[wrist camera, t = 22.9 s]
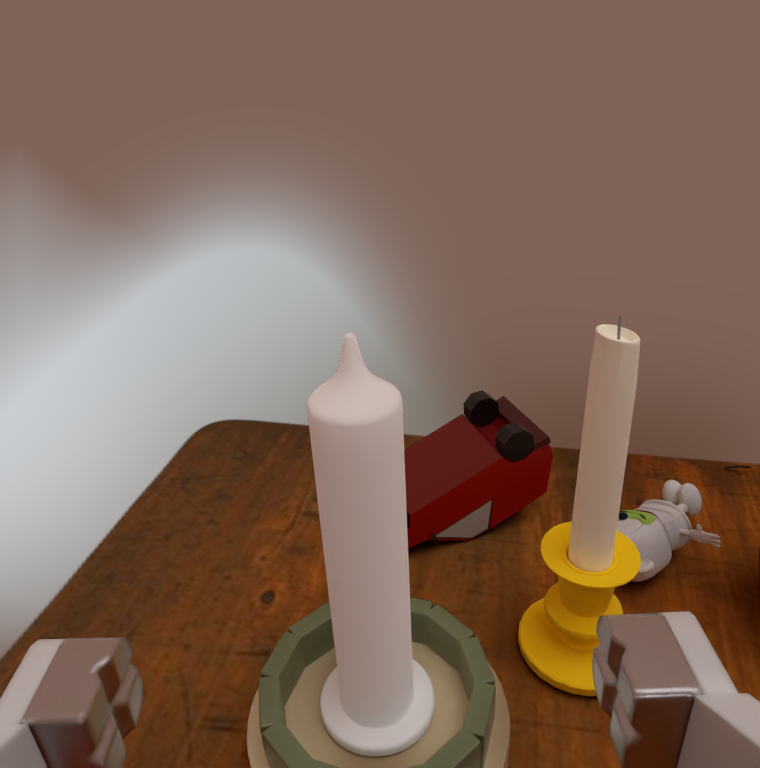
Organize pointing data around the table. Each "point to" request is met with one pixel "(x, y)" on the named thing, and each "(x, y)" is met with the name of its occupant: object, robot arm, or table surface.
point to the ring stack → (429, 649)
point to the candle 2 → (588, 528)
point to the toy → (664, 526)
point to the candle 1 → (366, 562)
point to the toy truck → (474, 471)
